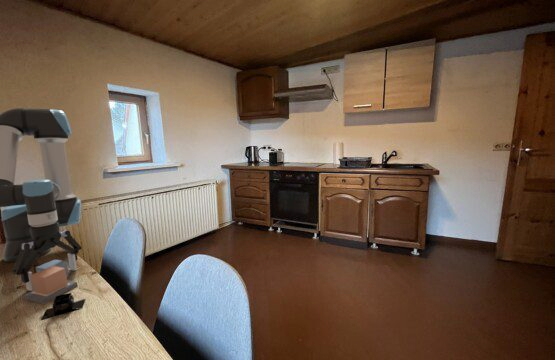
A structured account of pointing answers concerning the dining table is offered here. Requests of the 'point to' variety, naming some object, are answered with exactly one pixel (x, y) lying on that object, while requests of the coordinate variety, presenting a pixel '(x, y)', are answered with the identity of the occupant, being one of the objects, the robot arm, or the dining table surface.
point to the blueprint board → (45, 298)
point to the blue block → (53, 263)
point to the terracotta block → (49, 280)
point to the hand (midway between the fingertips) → (53, 279)
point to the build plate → (63, 306)
